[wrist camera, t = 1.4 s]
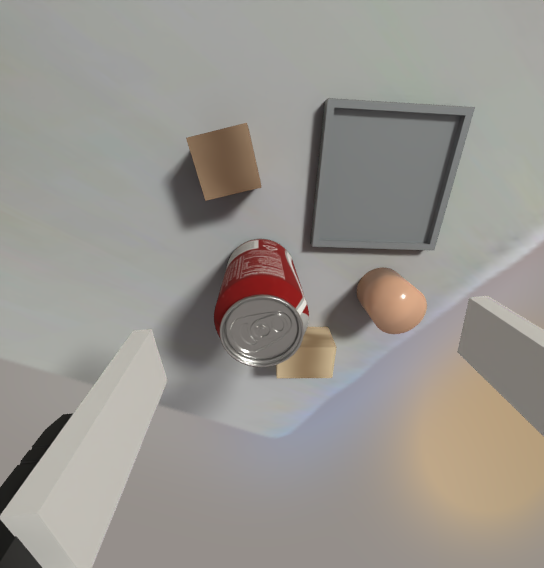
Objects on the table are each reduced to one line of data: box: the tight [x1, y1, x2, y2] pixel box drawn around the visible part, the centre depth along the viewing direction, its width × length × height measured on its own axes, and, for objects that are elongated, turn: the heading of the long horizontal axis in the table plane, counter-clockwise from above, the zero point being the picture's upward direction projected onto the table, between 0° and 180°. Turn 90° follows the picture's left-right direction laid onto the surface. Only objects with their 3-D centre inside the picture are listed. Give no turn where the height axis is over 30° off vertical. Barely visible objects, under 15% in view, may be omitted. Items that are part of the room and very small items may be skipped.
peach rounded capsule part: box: [357, 268, 427, 334], centre depth 29 cm, size 5×5×5 cm
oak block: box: [276, 327, 336, 378], centre depth 32 cm, size 6×4×4 cm, turn 89°
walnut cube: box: [186, 123, 261, 201], centre depth 23 cm, size 4×4×4 cm
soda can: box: [214, 239, 309, 367], centre depth 24 cm, size 7×7×12 cm
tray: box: [310, 98, 475, 250], centre depth 26 cm, size 12×12×1 cm
